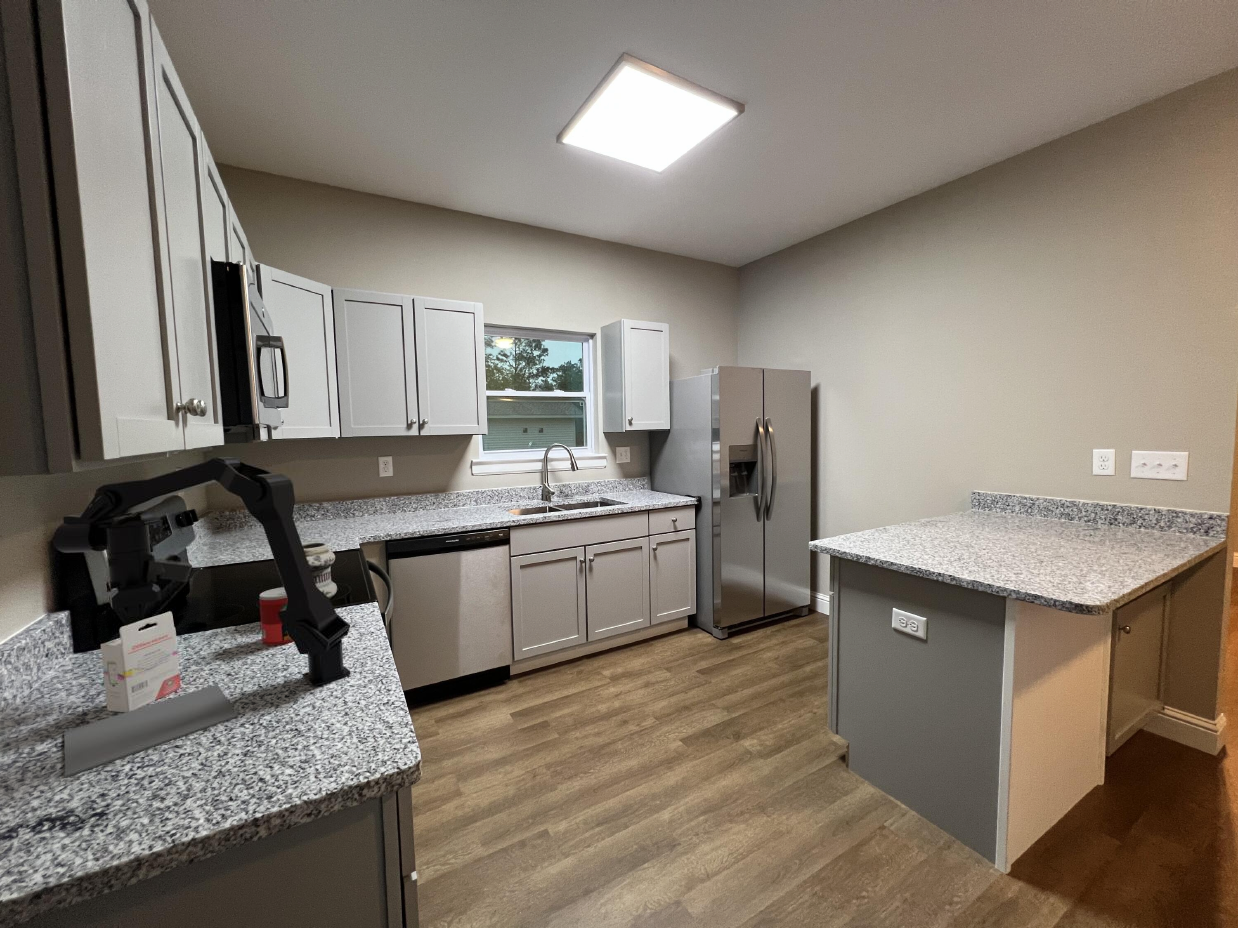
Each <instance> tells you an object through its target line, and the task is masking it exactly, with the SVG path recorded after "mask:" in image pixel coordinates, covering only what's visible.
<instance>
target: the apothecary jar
mask: <svg viewBox="0 0 1238 928" xmlns="http://www.w3.org/2000/svg"><path fill="white" fill-rule="evenodd" d="M301 543H302V546H303V549H304V552H305V555H306V558H307V561H308V564H309V567H310V569H311V572H312V575H313V578H314V581H315V584H316V586H317V588H318V589H319V590H320V591H322V592H323V593H324V594H325V595H326V596H327V597H328V598H329V600H330V599H331V598H332V597H334V596H335V594H336V593H337V591H338V587H337V584H336V583H335V582H333V580H332V576H331V575H332V573H331V572H332V571H331V566H332V564H334V562H335V560H336V555H335V554H334V552H333V551H331V549H329V546H328V544H327V542H323V541H313V542H311V541H310V542H304V543H303V542H301Z"/></svg>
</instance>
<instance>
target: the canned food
mask: <svg viewBox="0 0 1238 928" xmlns="http://www.w3.org/2000/svg"><path fill="white" fill-rule="evenodd" d="M286 604H287V595H286V592H285V589H284V586H281V587H277V588H272V589H268V590H265V591H262V592H261V593H260V594H259V615H260V628H261V629H260V630H261V639H262V640H261V641H262V642H263V644H264V645H266V646H281V644H282V645H286V644H289V643H293V642H294V641H292V640H291V639H290V638H289V636H288V634H287V632H286V633H283V624H282V622H281V620H280V618H279V616H278V612H279V611H280V610H282V609H284V608H286Z"/></svg>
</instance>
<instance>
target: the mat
mask: <svg viewBox="0 0 1238 928" xmlns="http://www.w3.org/2000/svg"><path fill="white" fill-rule="evenodd" d="M238 717H239V714H238V713H237V712H236V710H235V708H234V707H233V705H232V704H231V702H230V701H229V700H228V698H227V697H226V695H225V693H224V692H223V690H222V689H221V688H220V686H219V684H214V685H211V686H207V687H204V688H201V689H198V690H194V691H192V692H191V691H190V692H188V693H185V694H182V695H178V696H175V697H172V698H169V699H165V700H161V701H158V702H156V703H152V704H149V705H148V704H147V705H144V706H142V707H140V708H138V709H135V710H132V711H129V712H121V713H119V714H117V715H113V716H110V717H106V718H103V719H99V720H97V721H93V722H90V723H86V724H83V725H81V726H77V727H74V728H70V729H67V730H65V731H64V778H69V777H71V776H75V775H77V774H80V773H83V772H86V771H89V770H91V769H94V768H98V767H101V766H103V765H106V764H108V763H111V762H115V761H117V760H120V759H123V758H126V757H129V756H131V755H134V754H137V753H139V752H142V751H145V750H148V749H150V748H154V747H158V746H160V745H163V744H165V743H168V742H171V741H173V740H174V741H175V740H176V739H180V738H183V737H185V736H188V735H191V734H194V733H196V732H199V731H201V730H204V729H208V728H210V727H213V726H216V725H218V724H219V725H220V724H222V723H224V722H228V721H230V720H233V719H237V718H238Z"/></svg>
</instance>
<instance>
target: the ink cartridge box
mask: <svg viewBox="0 0 1238 928" xmlns="http://www.w3.org/2000/svg"><path fill="white" fill-rule="evenodd" d="M148 624H149V625H152V624H156V625H153V626H151V627H148V628H144V627H145V626H146V625H148ZM139 628H141V631H138V629H139ZM142 628H144V629H142ZM177 642H178V641H177V632H176V627H175V624H174V618H173V612H172V611H167V612H165V613H162V614H158V615H155V616H152V617H147V618H143V620H141V621H138V622H136V623H133V624H130V625H127V626H126V625H124V626H121V627H120V628H119V638H116V639H115V638H114V639H113V640H110V641H107V642H104V643H101V644H100V653H101V662H102V672H103V681H104V688H105V689H104V691H105V699H106V708H107V711H109V712H118V713H126V712H129V711H132V710H135V709H139V708H142V707H145V706H147V705H148V704H150V703H153V702H154V701H156V700H159V699H160V698H162V697H165V696H167V695H169V694H171V693H173V692H176V691H178V690H179V689H181V687H182V686H181V675H180V668H179V666H180V664H179V663H180V662H179V653H178V644H177Z"/></svg>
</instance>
